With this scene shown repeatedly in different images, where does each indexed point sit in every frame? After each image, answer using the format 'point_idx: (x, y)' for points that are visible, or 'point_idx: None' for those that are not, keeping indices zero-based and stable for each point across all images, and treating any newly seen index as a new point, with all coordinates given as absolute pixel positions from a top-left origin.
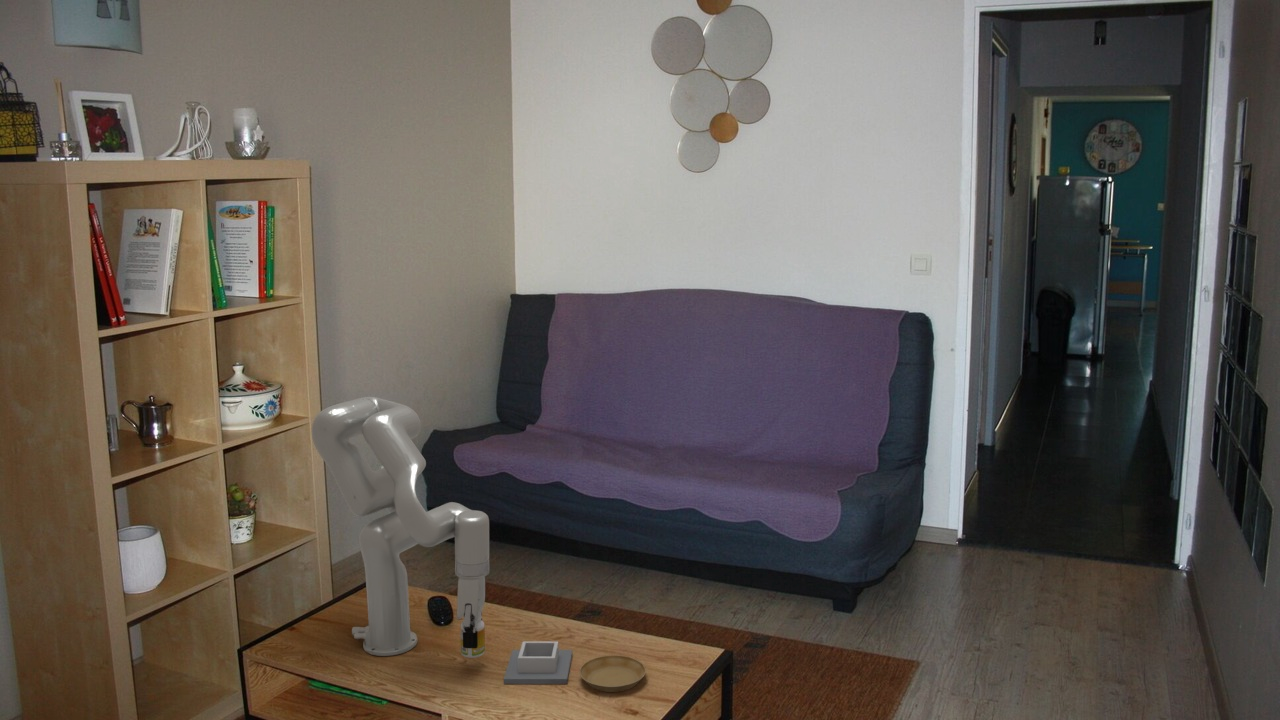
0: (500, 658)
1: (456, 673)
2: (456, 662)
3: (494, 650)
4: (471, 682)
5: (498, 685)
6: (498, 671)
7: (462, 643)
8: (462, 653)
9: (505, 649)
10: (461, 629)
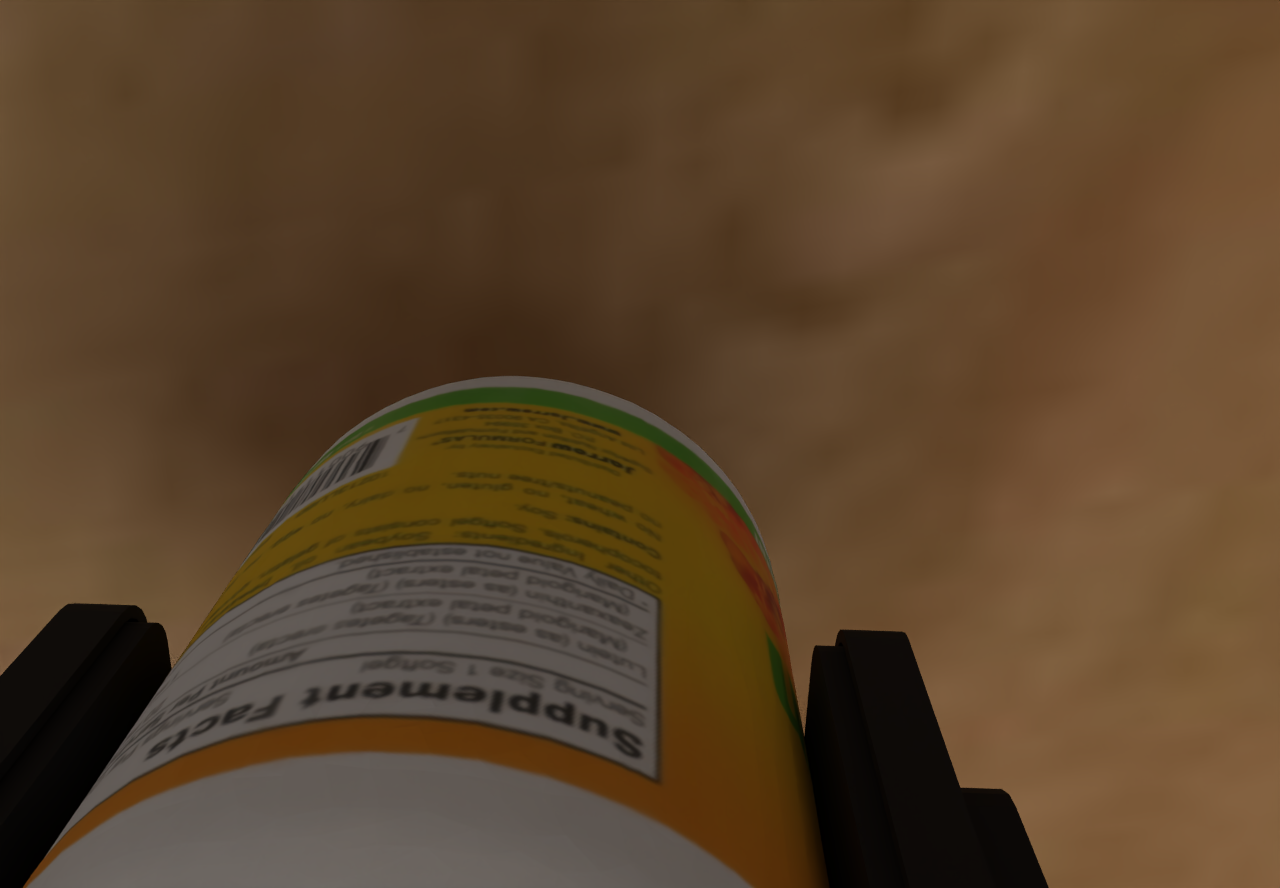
0: None
1: (342, 221)
2: (759, 151)
3: (1131, 705)
4: (60, 512)
5: None
6: None
7: (248, 569)
8: (338, 444)
9: (1137, 846)
10: (122, 812)
